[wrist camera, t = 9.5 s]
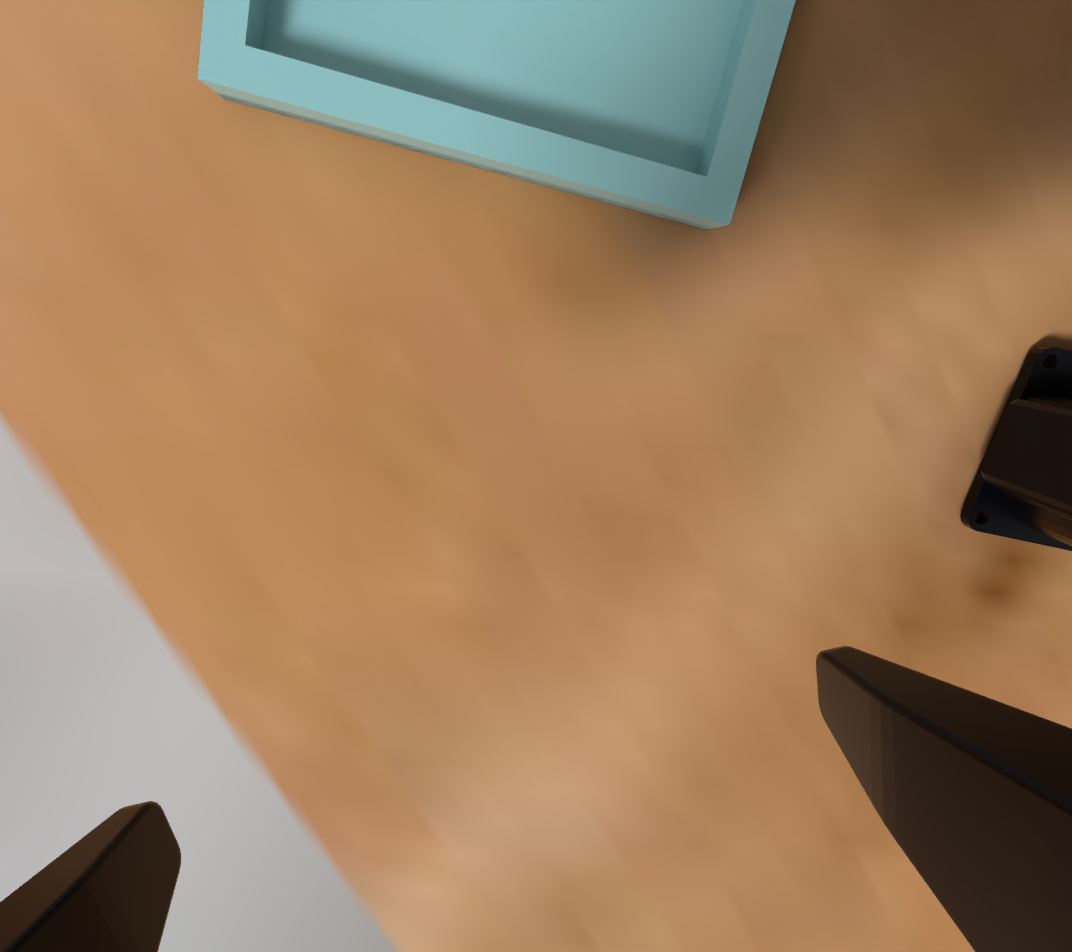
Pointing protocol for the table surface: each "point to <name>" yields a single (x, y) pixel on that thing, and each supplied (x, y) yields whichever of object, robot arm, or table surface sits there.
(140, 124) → the table surface
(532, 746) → the table surface
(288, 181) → the table surface
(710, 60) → the tray
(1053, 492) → the robot arm
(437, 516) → the table surface
